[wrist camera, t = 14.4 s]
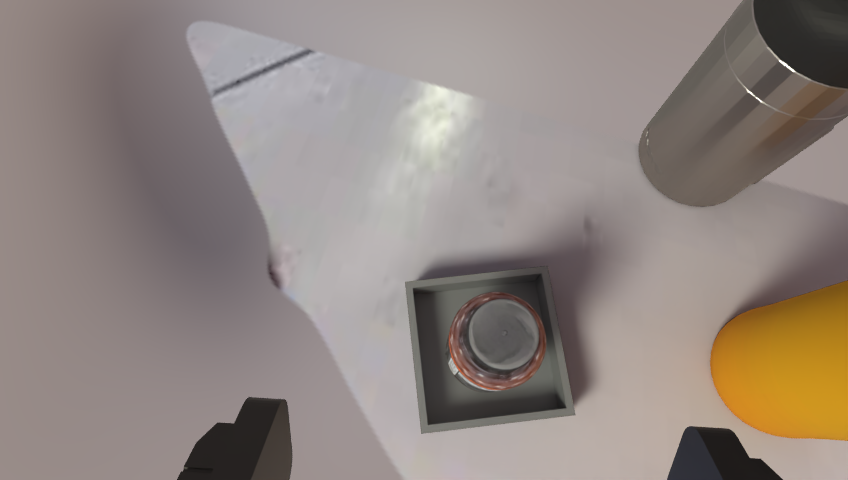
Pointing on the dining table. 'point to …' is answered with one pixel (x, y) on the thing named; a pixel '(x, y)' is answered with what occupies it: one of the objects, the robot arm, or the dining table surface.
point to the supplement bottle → (495, 342)
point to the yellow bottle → (788, 365)
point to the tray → (436, 384)
